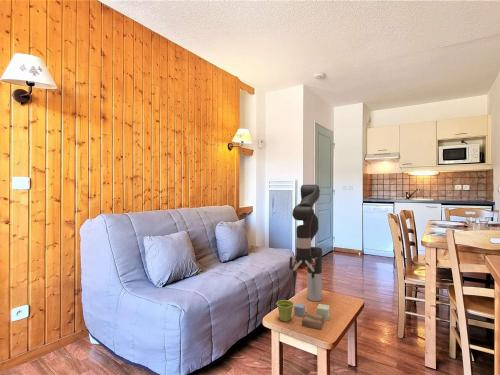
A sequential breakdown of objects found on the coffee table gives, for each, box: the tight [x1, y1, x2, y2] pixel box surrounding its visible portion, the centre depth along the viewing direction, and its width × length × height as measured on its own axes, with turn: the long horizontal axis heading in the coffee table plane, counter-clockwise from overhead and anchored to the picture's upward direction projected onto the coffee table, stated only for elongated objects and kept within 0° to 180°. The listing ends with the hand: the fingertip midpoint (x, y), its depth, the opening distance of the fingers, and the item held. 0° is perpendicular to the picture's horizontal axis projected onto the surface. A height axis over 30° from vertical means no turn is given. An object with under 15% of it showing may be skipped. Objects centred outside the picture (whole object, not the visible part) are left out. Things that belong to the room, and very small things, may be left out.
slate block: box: [293, 302, 306, 318], centre depth 160 cm, size 5×5×5 cm
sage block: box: [316, 303, 331, 322], centre depth 156 cm, size 6×6×6 cm
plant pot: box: [276, 299, 295, 323], centre depth 154 cm, size 9×9×9 cm
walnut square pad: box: [301, 311, 325, 331], centre depth 149 cm, size 10×10×3 cm
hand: (303, 277), depth 142 cm, fingers open, 8 cm apart
